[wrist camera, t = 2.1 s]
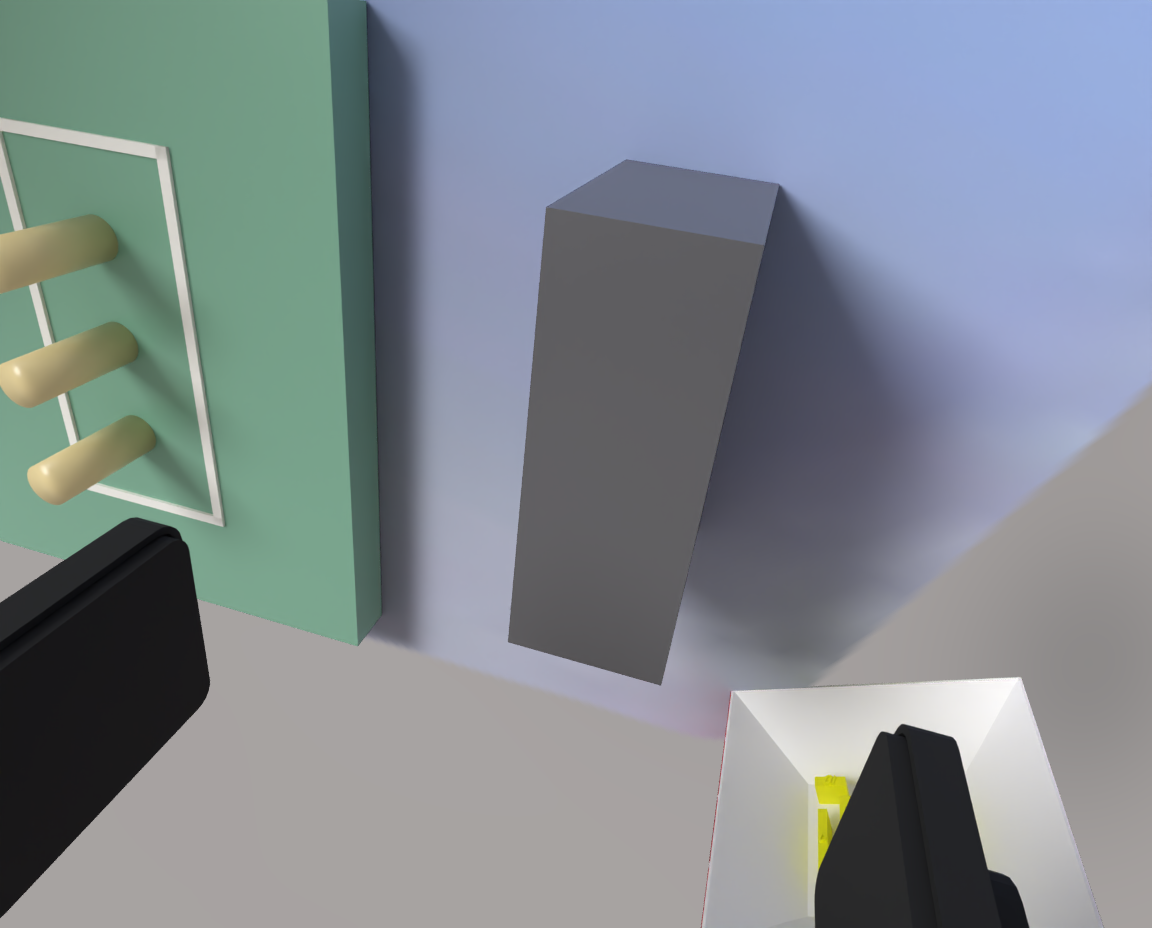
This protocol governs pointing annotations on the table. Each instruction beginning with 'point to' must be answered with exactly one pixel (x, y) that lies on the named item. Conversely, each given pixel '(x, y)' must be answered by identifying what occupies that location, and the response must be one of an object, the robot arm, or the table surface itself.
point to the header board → (194, 293)
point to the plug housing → (629, 404)
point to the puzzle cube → (830, 773)
